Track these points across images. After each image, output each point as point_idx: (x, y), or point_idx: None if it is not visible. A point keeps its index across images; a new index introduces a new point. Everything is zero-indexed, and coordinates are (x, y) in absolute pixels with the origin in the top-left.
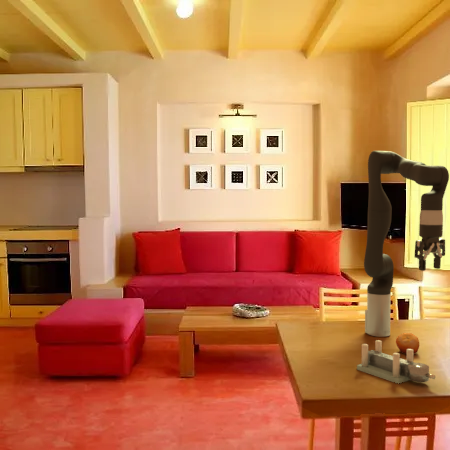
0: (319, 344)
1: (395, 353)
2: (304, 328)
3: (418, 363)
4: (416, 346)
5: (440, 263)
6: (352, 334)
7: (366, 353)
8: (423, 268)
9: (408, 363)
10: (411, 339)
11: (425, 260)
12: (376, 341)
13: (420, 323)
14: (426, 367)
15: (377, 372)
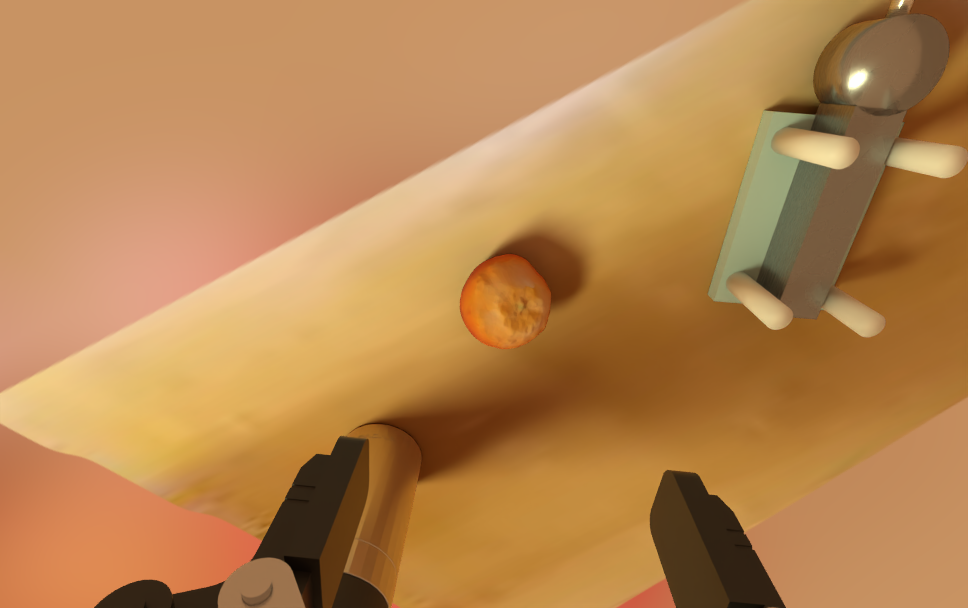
0: (636, 502)
1: (945, 168)
2: (516, 603)
3: (860, 85)
4: (514, 260)
5: (289, 490)
6: (456, 499)
7: (857, 300)
8: (701, 499)
9: (886, 117)
10: (521, 289)
11: (742, 596)
12: (790, 320)
13: (125, 433)
14: (905, 25)
15: (860, 221)
